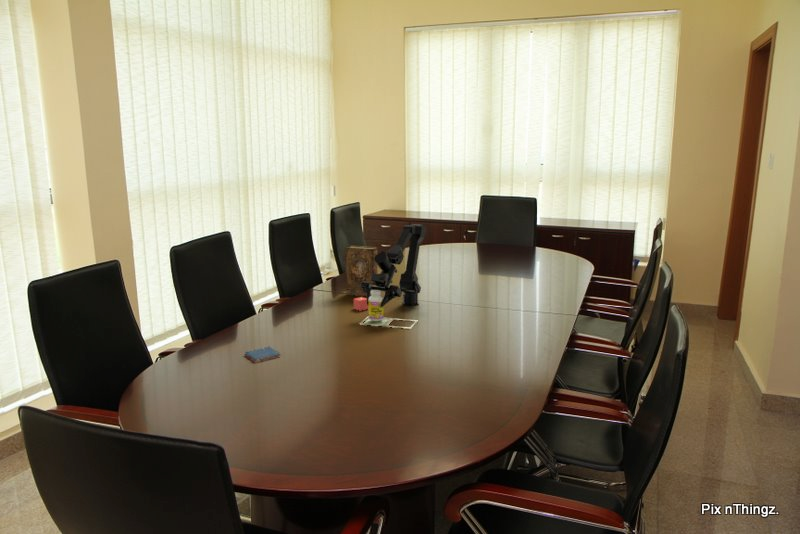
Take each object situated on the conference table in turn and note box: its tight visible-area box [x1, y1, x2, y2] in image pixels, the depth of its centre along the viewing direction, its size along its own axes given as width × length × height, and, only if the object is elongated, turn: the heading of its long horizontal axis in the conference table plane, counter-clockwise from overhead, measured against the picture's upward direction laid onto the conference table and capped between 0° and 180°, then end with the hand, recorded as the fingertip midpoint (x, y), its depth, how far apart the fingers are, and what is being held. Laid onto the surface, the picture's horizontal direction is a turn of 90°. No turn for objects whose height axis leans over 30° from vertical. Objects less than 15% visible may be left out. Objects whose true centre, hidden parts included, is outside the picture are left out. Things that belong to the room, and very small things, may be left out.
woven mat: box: [244, 346, 281, 364], centre depth 227 cm, size 10×11×2 cm
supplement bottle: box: [368, 290, 385, 321], centre depth 266 cm, size 7×7×13 cm
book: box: [344, 245, 379, 298], centre depth 311 cm, size 16×6×25 cm, turn 68°
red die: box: [353, 296, 369, 312], centre depth 287 cm, size 5×5×6 cm
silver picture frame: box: [358, 315, 419, 330], centre depth 266 cm, size 23×12×1 cm, turn 73°
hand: (374, 305), depth 265 cm, fingers closed on supplement bottle, 7 cm apart
